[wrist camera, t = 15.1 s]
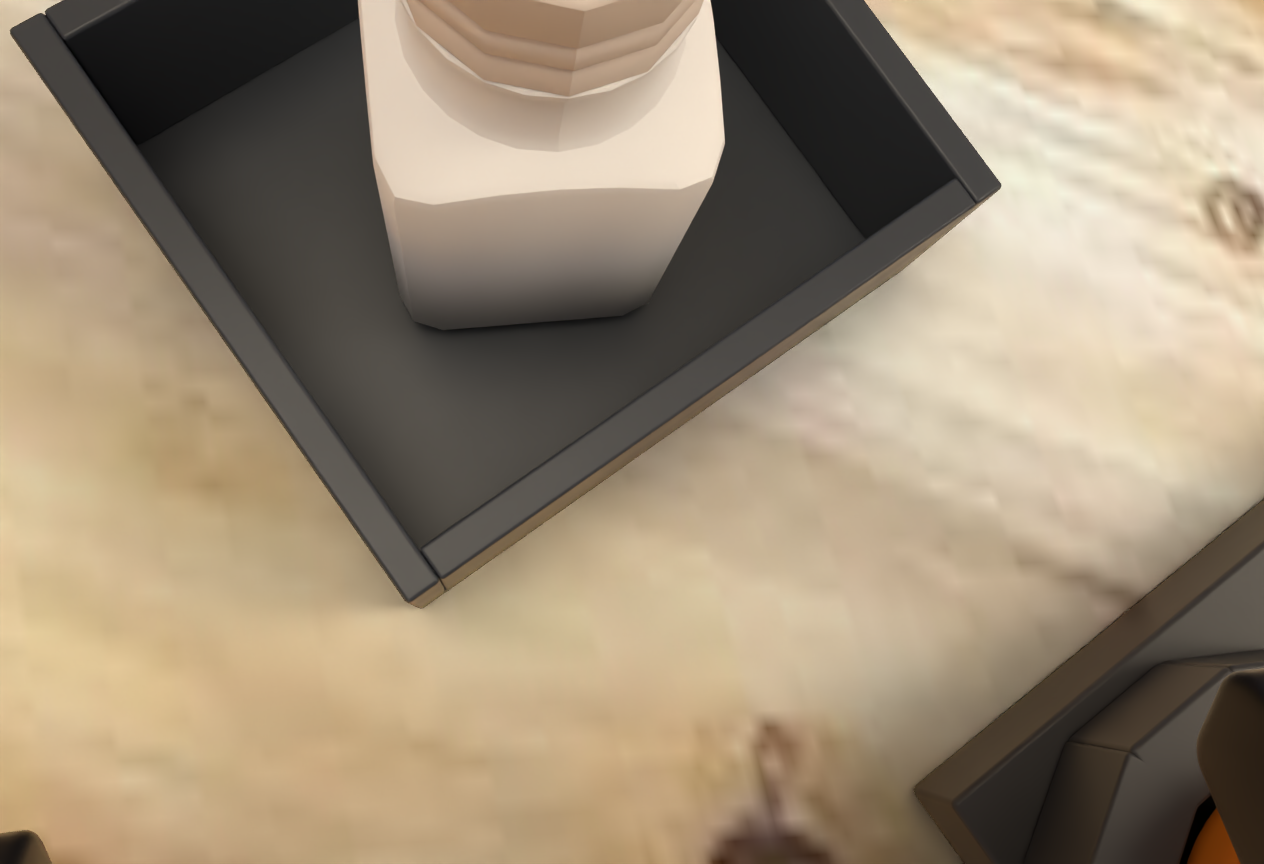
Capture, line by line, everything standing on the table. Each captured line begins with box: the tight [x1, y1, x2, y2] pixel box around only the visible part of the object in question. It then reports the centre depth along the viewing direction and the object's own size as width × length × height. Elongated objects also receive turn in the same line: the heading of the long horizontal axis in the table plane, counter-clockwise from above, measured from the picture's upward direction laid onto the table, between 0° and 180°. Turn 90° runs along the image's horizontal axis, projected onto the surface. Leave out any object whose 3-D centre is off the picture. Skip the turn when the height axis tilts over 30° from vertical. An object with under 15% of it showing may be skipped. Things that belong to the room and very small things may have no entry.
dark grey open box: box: [10, 0, 1001, 608], centre depth 18 cm, size 10×9×4 cm
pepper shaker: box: [358, 0, 725, 330], centre depth 15 cm, size 4×4×10 cm
